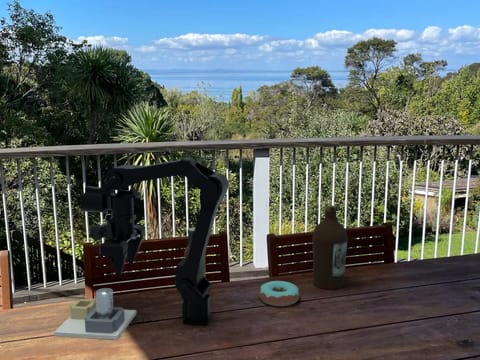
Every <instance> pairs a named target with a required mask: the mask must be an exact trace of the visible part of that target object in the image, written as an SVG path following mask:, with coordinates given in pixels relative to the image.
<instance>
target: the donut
mask: <svg viewBox="0 0 480 360" xmlns="http://www.w3.org/2000/svg"><path fill="white" fill-rule="evenodd" d="M300 295H301V293H300V289H299V288H298V286H297V285H295V284H294V283H291V282H289V281H282V280H274V281H268V282H265V283H263V284H261V285H260V287H259V289H258V296H259V299H260V300H261V301H262V302H263V303H264V304H266V305H269V306H273V307H288V306H291V305H294V304H295V303H296V302H298V301H299V298H300Z"/></svg>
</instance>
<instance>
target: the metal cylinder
mask: <svg viewBox="0 0 480 360" xmlns="http://www.w3.org/2000/svg"><path fill="white" fill-rule="evenodd" d="M95 298H96V299H95V300H96V308H97V319H108V320H111V319H112V318H113V307H114V290H113V289H112V288H109V287H103V288H100V289H97V290H96V292H95Z"/></svg>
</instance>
